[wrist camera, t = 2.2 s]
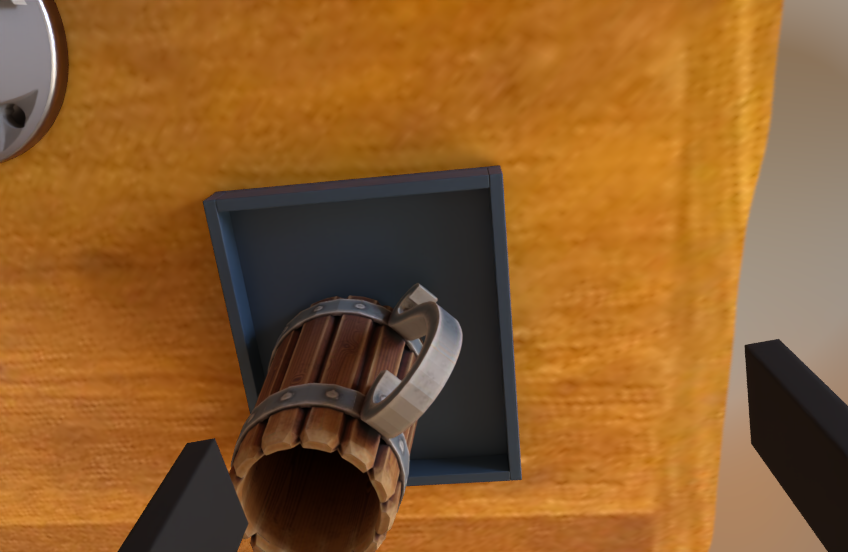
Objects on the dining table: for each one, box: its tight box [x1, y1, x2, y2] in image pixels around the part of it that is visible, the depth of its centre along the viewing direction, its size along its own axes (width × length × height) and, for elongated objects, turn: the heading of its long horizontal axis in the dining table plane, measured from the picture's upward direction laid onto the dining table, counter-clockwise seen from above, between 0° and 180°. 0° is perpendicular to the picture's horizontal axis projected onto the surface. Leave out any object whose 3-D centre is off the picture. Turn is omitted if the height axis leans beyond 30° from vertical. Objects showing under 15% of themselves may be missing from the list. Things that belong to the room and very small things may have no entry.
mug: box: [229, 283, 463, 552], centre depth 38 cm, size 16×11×15 cm
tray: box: [203, 166, 522, 486], centre depth 44 cm, size 18×22×2 cm
